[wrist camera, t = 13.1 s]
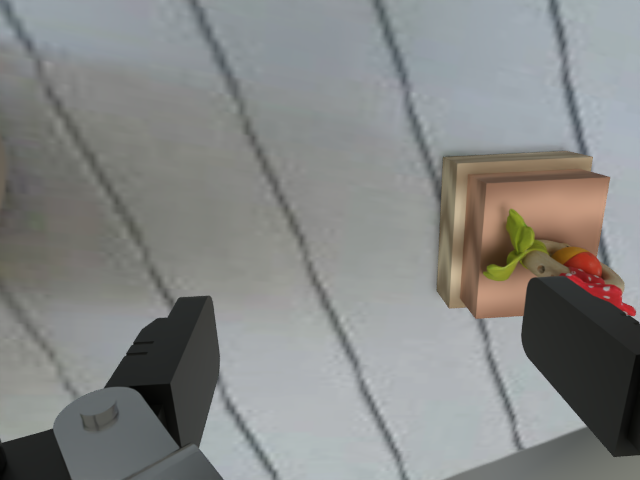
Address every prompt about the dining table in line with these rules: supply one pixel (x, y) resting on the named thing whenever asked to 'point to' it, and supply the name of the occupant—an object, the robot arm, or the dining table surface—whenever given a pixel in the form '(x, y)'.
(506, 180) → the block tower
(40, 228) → the dining table surface
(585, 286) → the bird rattle
